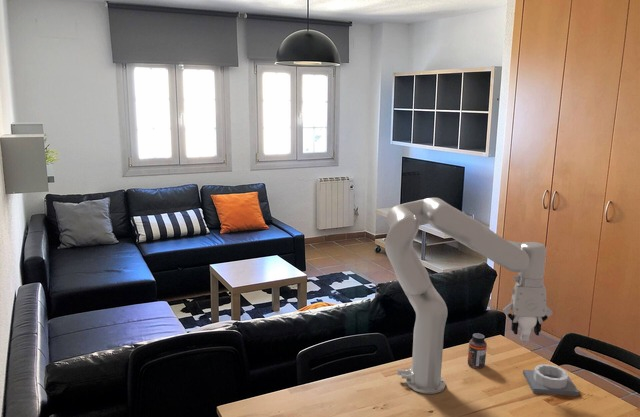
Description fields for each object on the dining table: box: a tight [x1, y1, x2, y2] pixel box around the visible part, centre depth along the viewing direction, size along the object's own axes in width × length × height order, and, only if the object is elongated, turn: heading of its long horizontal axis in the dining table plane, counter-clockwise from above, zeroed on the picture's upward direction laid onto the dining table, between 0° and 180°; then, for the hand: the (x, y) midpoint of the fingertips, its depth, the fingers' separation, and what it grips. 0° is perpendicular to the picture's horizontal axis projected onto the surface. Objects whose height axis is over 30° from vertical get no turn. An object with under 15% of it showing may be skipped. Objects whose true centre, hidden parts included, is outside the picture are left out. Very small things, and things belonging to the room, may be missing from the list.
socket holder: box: [522, 363, 580, 397], centre depth 173 cm, size 14×12×4 cm
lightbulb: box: [517, 316, 537, 343], centre depth 170 cm, size 6×6×11 cm
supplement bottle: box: [467, 332, 488, 369], centre depth 184 cm, size 6×6×11 cm
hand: (525, 332), depth 170 cm, fingers closed on lightbulb, 6 cm apart
